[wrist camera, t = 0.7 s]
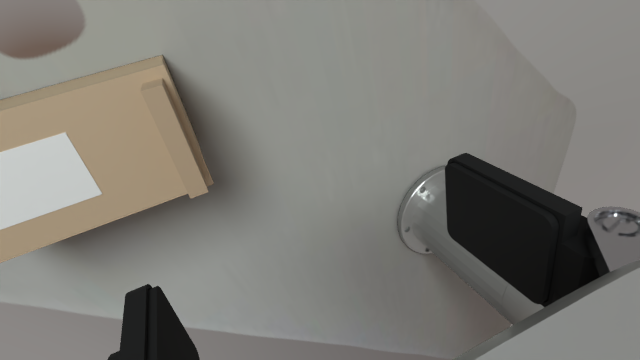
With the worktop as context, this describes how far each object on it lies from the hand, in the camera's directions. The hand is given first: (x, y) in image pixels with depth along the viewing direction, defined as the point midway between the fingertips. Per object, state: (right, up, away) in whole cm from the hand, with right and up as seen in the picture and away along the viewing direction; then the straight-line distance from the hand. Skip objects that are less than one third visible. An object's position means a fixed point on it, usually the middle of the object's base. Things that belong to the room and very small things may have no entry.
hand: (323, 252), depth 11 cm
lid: (-16, +3, +12) cm, 21 cm away
